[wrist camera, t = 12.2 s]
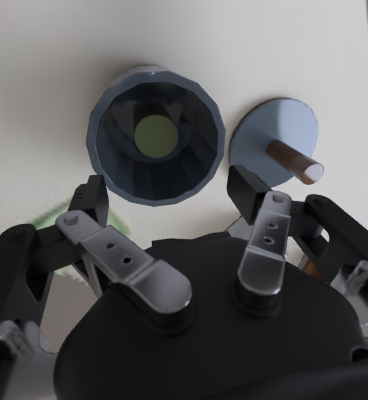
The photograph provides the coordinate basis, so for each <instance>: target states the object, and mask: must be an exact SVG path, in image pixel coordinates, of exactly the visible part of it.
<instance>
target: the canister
mask: <svg viewBox="0 0 368 400" xmlns="http://www.w3.org/2000/svg"><path fill="white" fill-rule="evenodd" d="M147 104H156V105H159V106H161V107H163V108H164V109H165V110H166V111H167V112H168V114H169V116H170V117H171V119H172V121H173V122H174V124H175V126H176V128H177V131H178V142H177V145H176V147H175V148H174V150H173V151H172V152H171V153H170V154H168V155H167V156H164V157H161V158H152V157H148V156H146V155H144V154H143V153H142V152H141V151H140V150H139V149H138V148H137V146H136V144H135V140H134V117H135V114H136V112H137V111H138V110H139V109H140V108H141V107H142V106H144V105H147ZM225 132H226V131H225V127H224V124H223V121H222V118H221V115H220V112H219V109H218V106H217V104H216V103H215V102H214V101H213V99H212V98H211V97H210V96H209V95H208V94H207V93H206V92H205V91H204V90H203V88H202V87H201V86H200V85H199V84H198V83H196V82H194V81H192V80H190V79H188V78H186V77H183V76H181V75H179V74H177V73H174V72H172V71H170V70H167V69H165V68H163V67H160V66H157V65H153V66H135V67H133V68H131V69H129V70H127V71H125V72H124V73H122V74H120V75H118V76H117V77H115V78H114V80H113V81H112V83H111V84H110V85H109V87H108V88H107V90H106V91H105V93H104V94H103V96H102V97H101V99H100V100H99V101H98V103H97V104H96V106H95V107H94V109H93V110H92V112H91V114H90V118H89V125H88V131H87V137H86V146H87V150H88V153H89V157H90V160H91V164H92V167H93V169H94V171H95V172H96V174H97V175H102V174H103V176H104V179H105V184H106V186H107V187H108V189H109V190H110V191H112V192H114V193H116V194H117V195H119V196H121V197H122V198H124V199H126V200H127V201H129V202H132V203H137V204H142V205H147V206H152V207H156V206H163V205H170V204H176V203H179V202H181V201H183V200H185V199H187V198H189V197H191V196H193V195H195V194H197V193H198V192H199V191H200V190H201V189H202V188H203V187H204V186H205V185H206V184H207V183H208V182H209V181H210V180H211V179H212V178H213V177H214V175H215V173H216V171H217V169H218V167H219V165H220V162H221V160H222V158H223V156H224V146H225Z"/></svg>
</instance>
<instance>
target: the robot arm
mask: <svg viewBox="0 0 368 400" xmlns="http://www.w3.org/2000/svg"><path fill="white" fill-rule="evenodd" d="M227 193H228V195H229V197H230V198H231V200H232V201H233V203H234V204H235V206H236V207H237V209H238V210H239V212H240V213H241V215H242V216H243V218H244V219H245V221H246V222H247V224H248V225H249V226H252V225H254V226H253V229H252V232H251V235H250V238H249V240H245V239H242V238H238V237H231V235H230V233H229V231H226V232H218V233H210V234H207V235H204V236H201V237H198V238H196V239H174V238H170V239H162V240H155V241H152V247H150V248H148V249H145V250H143V249H141V248H140V247H139V246H138V245H136V244H135V243H134V242H132V241H131V240H130V239H128V238H127V237H126V236H125V235H123V234H122V233H121V232H119V231H118V230H117V229H116V228H114V227H113V226H111V225H107V226H106V224H107V216H108V209H109V199H108V194H107V189H106V184H105V179H104V176H103V174H102V175H90V176H89V179H88V182H87V184H81V185H80V186H79V187H78V188H76V190H75V193H74V195H73V198H72V200H71V203H70V206H69V208H68V211H67V212H65V213H63V214H61V215H60V216H59V217H58V218H57V219H56V221H55V225H52V226H49V227H46V228H43V229H39V230H36V228H35V226H34V225H31V224H20V225H16V226H13V227H11V228H9V229H7V230H5V231H4V232H3V233H2V234H1V235H0V400H368V342H367V340H366V338H365V337H368V230H367V229H365V228H364V227H363V226H362V225H361V224H359V223H358V222H357V221H356V220H355V219H353V218H352V217H351V216H350V215H349V214H347V213H346V212H345V211H344V210H342V209H341V208H340V207H339V206H338V205H336V204H335V203H334V202H333V201H332V200H330V199H329V198H327V197H325V196H322V195H317V194H310V195H308V196H307V197H306V199H305V202H301V201H292V199H291V197H290V196H289V195H287V194H286V193H283V192H280V191H273V190H272V189H271V188H270V187H269V186H268V185H267V184H266V183H265V182H264V181H263V180H262V179H261V178H260V177H259V176H258V175H257V174H255V173H253V172H251V171H248V169H247V168H246V167H245V166H244V165H242V164H240V165H231V166H230V168H229V175H228V182H227ZM323 228H324V229H325V230H326V231H327V233H328V234H329V242H327V241H326V240H325V239H324V238H323V237H322V235H321V232H322V230H323ZM288 236H289V237H293V239H294V240H295V241H296V243H297V244H298V245H299V247H300V248H301V249H302V251H303V252H304V253H305V254H306V256H307V257H308V258H309V260H310V261H311V262H312V264H313V265H314V266H315V268H316V269H317V270H318V271H319V273H320V274H321V275H322V277H323V278H324V279H325V281H326V282H327V283H328V284H327V283H325V282H323V281H321V280H319V279H318V278H316V277H314V276H312V275H310V274H309V273H307V272H305V271H303V270H301V269H299V268H298V267H296V266H294V265H292V264H290V263H289V262H287V261H285V253H286V246H287V239H288ZM71 264H72V266H73V267H74V268H75V269H76V270H77V272H78V273H79V274H80V275H81V276H82V277H83V278H84V279H85V281H86V282H87V283H88V284H89V285H90V286H91V288H92V289H93V291H94V293H95V295H96V296H97V298H98V300H97V301H96V303H95V304H94V305H93V306H92V307H91V308H90V310H89V311H88V312H87V314H85V316H84V317H83V318H82V319H81V320H80V321H79V323H78V324H77V325H76V326H75V328H74V329H73V330H72V331H71V332H70V334H69V335H68V336H67V337H66V339H65V341H64V342H63V344H62V346H61V348H60V350H59V352H58V353H50V344H49V342H48V340H47V338H46V337H45V335H44V334H43V332H42V331H41V329H40V324H41V320H42V317H43V313H44V309H45V305H46V301H47V297H48V294H49V290H50V286H51V282H52V278H53V274H54V271H55V270H57V269H60V268H63V267H65V266H68V265H71Z"/></svg>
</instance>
